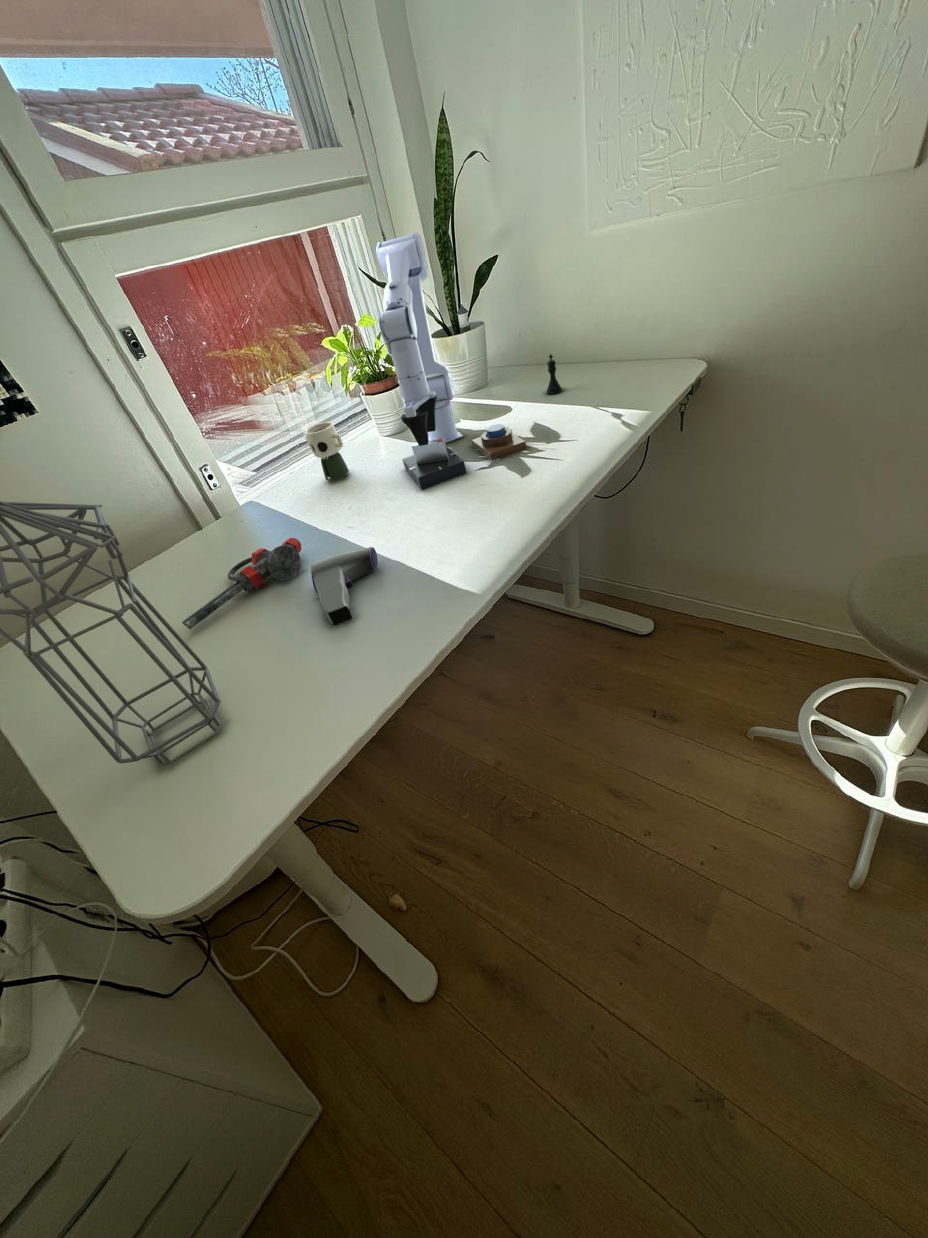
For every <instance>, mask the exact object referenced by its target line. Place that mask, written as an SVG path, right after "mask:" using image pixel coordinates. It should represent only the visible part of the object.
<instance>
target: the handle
mask: <svg viewBox="0 0 928 1238" xmlns="http://www.w3.org/2000/svg"><path fill="white" fill-rule="evenodd" d="M447 447H448V446H447V443H446V442H445V439H444V438H439V440H432V441H429V443H428V445H423V446H419V445H418V443H417V442H414V443H412V445H411V449H412V452H413V455H414V456H415V459H416V463H417V465H419V464H426V463H433V462H440V461H447V460H448V459H449V454H448V450H447Z"/></svg>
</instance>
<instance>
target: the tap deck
mask: <svg viewBox="0 0 928 1238" xmlns="http://www.w3.org/2000/svg"><path fill="white" fill-rule="evenodd" d="M447 450H448V454H449V459H448V460H447V461H440V462H433V463H426V464H419V465H417V463H416V459H415V456H414V454H413V455H410V456H407V457H404V458H402V463H403V466H404V467H403V468H404V470H405V472H406V473H407V475H409V476H410V478H411V480H412V481H414V483H415V484H416V485H417V486H418V487H419V489H420V490H421V491H424V490H426V489H430V488H432V487H434V486H437V485H440V484H442V483H445V482H448V481H451V480H453V479H457V478H459V477H462V476H464V475H467V474H468V473H467V469H466V465H465V461H464V460H463V459H462V458H461V457H460V456H459V455H457V451H456V452H454V451H453V450H452V449H450V448H449V446H447Z"/></svg>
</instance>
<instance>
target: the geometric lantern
mask: <svg viewBox="0 0 928 1238" xmlns="http://www.w3.org/2000/svg"><path fill="white" fill-rule="evenodd" d="M102 507H103V504H85V503H84V504H83V503H57V502H56V503H55V502H54V503H53V502H24V501H23V502H22V501H21V502H20V501H19V502H18V501H0V535H1V537H2V538H3V540H5V542H6V543H7V544H4V545H2V546H0V553H1V552H2V553H3V552H6V551H8V550H12V551H13V552H14V553H15V555H16V556H17V557H6V556H2V555H1V554H0V595H2V594H3V597H4V598H6V599H9V598H10V600H12V601H13V602H15V603H16V604H17V605H18V606H21V607H22V608H3V607H0V615H14V616H16V617H19V618H23V619H25V635H24V636H25V637H24V644H23V643H21V641H19V640H18V639H17V638H15V636H14V635H12V634H11V633H10V632H8V631H7V630H6V629H5V628H3V627H2V626H1V625H0V635H2V636H3V637H5V638H6V639H7V640H8V641H10V643H12V644H13V645H14V646H15V647H17V648H18V649H19V650H20V651H21V652H22V654H23V655H24V656H25V657H26V658H27V660H28V661H29V662H30V663H31V665H33V667H34V668H35V669H36V670H37V671H38V672H39V673H40V675H41V676H42V677H43V678H44V679H45V680H46V682H47V683H48V684H49V686H51V687H52V688H53V690H54V691H55V692H56V694H58V696H59V697H60V698H61V699H62V700H63V702H64V703H65V704H66V705H67V706H68V707H69V708H70V710H71V711H72V712H73V713H74V714H75V715H76V717H77V718H78V719H79V720H80V721H81V723H83V725H84V726H85V727H86V728H87V729H88V731H89V732H90V733H91V734H92V736H94V737H95V739H96V740H97V741H98V742H99V743H100V744H101V746H102V747H103V748H104V749H105V751H107V753H108V754H109V755H110V756H111V757H112V758H113V760H114V761H115V762H116V763H118V764H127V763H134V762H139V761H141V760H143V759H149V758H154V759H155V760H156V761H157V762H158V763H159V765H160V766H161V767H164V766H169V765H172V764H174V763H175V762H176V761H178V760H180V759H181V758H183V757H185V756H186V755H188V754H190V753H191V752H192V751H194V750H195V749H197V748H199V747H200V746H202V745H203V744H205V743H207V742H208V741H209V740H211V739H212V738H214V737H216V736H217V735H219V734H220V732H221V730H222V727H223V725H222V723H221V722H220V719H219V718H218V716H217V714H216V713H217V710H218V708H219V706H220V704H221V699H220V697H219V694H218V691H217V688H216V686H215V683H214V681H213V678H212V676H211V673H210V671H209V668H208V666H207V665H206V664H205V663H204V662H203V660H201V658H200V657H199V656H198V655H197V653H195V652H194V650H193V649H192V648H191V647H190V646H189V645H188V644H187V642H186V641H184V639H183V638H182V637H181V636H180V634H179V633H177V631H176V630H175V629H174V628H173V627H172V626H171V624H169V622H168V621H167V620H166V619H165V617H163V615H162V614H161V613H160V612H159V611H158V610H157V609H156V608H155V606H153V604H151V602H150V601H149V600H148V599H147V597H146V596H145V595H144V594H143V593H142V592H141V591H140V590H139V589H138V587H137V586H136V585H135V584H134V583H133V582H132V579H131V575H130V574H129V572H128V569H127V566H126V564H125V561H124V558H123V555H124V553H123V552H122V551H121V550H120V545H121V543H120V541H119V539H118V538H117V536H116V534H115V532H114V531H113V529H112V528H111V526H110V524H108V523H106V521H105V517H104V515H103V512H102V509H101V508H102ZM63 510H64V511H69V510H70V511H73V512H71V513H69V515H67V516H63V515H57V514H51V513H45V512H41V511H63ZM88 510H89V511H90V510H91V511H92V510H93V511H94V514H95V517H96V518H95V519H96V521H90V520H85V517H86V514H87V512H88ZM39 511H40V512H39ZM8 519H9V520H12V521H14V522H17V523H20V524H22V525H25V526H28V527H31V528H33V529H36V530H39V531H41V532H43V533H46V534H44V535H40V536H39V537H35V538H27V536H25V534H23V533H22V532H21V531H20V530H19V529H18V528H17V527H15V526H14V525H13V524H12V523H11V522H10V521H9V520H8ZM85 526H86V527H85ZM5 527H6V528H5ZM89 527H90V528H89ZM91 527H92V528H96V529H92V528H91ZM6 529H8V530H9V531H10V532H11V533H12V534H14V535H15V537H17V538H18V539H20V540H19V541H15V539H13V537H12V536H11V534H10V533H9V532H8V531H7V530H6ZM78 534H81V535H85V536H89V537H93V539H94V540H100V541H101V542H102V543H98V542H95V541H92V540H90V539H87V538H85V537H82V536H81V535H78ZM54 537H58V538H59V539H60V541H61V543H62V545H63V547H64V549H63V550H62V551H60V552H56V553H53V554H50V555H46V556H44V555H43V554H42V552H41V550H40V549H39V547H38V545H37V544H39V543H42V542H44V541H47V540H50V539H52V538H54ZM73 544H77V545H79V546H82V547H85V549H84V550H82V551H80V552H78V553H77V554H75V555H73V556H71V555H69V553H70V552H71V551H72V550H71V548H72V546H73ZM26 545H28V546H29V547H30V546H32V548H33V550H34V552H35V553H36V555H37V557H38V558H30V557H27V556H26V554H25V553H24V551H23V550H22V549H21V547H22V546H26ZM98 548H100V549H103V548H105V551H106V552H107V554H108V555H109V557H110V559H112V560H113V559H114V560H117V561H118V563H119V566H120V569H121V572H122V574H119V573H116V571H115V569H114V565H113V564H114V563H113V562H112V560H108V562H107V563H108V565H109V568H110V571H111V574H109V573H107V572H104V571H103V570H100V569H98V568H96V567H94V566H92V565H89V564H88V563H89V561H91V559H92V557H93V556H94V555H95V553H96V552H97V550H98ZM63 557H65V558H66V560H65V561H63V562H61V563H60V564H57V565H56V566H54V567H53V568H51V569H49V570H48V571H45V568H44V563H46V562H50V561H53V560H56V559H60V558H63ZM4 563H21V564H23V565H24V567H25V568H26V569H27V570H28V571H29V573H30V574H31V575H32V576H27V577H24V578H22V579H19V580H16V581H13V582H11V583H9V580H8V577H7V573H6V569H5V565H4ZM75 563H77V566H76V567H75V568H74V569H73V571H72V573H71V574H70V575H69V577H68V578H67V580H66V581H65V582H64V584H63V585H62V586H61V588H60V589H59V590H58V591H57V589H55V588H54V587H53V586H52V585H50V584H49V583H48V582H47V580H48V579H49V578H51V577H53V576H54V575H56V574H58V573H60V572H61V571H63V570H65V569H67V568H68V567H71V565H73V564H75ZM34 564H37V568H36V567H35V566H34ZM85 567H86V568H87V569H90V570H91V571H95V572H96V573H98V574H100V575H103V576H105V577H106V578H103V579H101V580H98V581H97V582H94V583H92V584H90V585H88V586H86V587H83V588H82V589H79V590H77V591H74V592H72V593H71V594H69V593H67V592H68V591H69V589H70V588H71V586H72V585H73V584H74V582H75V581H76V579H77V578H78V576H79V575H80V574H81V573H82V571H83V570H84V568H85ZM34 580H35V581H36V582H37V583H39V589H40V597H41V603H40V604H38V605H36V606H34V607H33V608H31V607H30V606H28V605H27V604H26V603H25V602H24V601H22V600H21V599H19V598H18V597H17V596H16V595H15V594H13V593H12V592H11V590H14V589H17V588H19V587H22V586H25V585H27V584H31V583H32V582H34ZM110 580H113V582H114V586H115V588H116V592H117V594H118V598H119V602H120V605H121V608H119V609H118V610H117V609H113V608H111V607H108V606H105V605H101V604H99V603H96V602H92V601H90V600H87V599H84V598H82V597H78V595H81V594H83V593H86V592H88V591H89V590H91V589H93V588H95V587H98V586H100V585H103V584H104V583H106V582H109V581H110ZM125 583H126V584H125ZM121 589H122V591H124V593H125V594H126V595H127V597H128V598H129V599H130V600H131V602H130V603H129V602H128V603H126V604H125V602H124V597H123V594H122V591H121ZM47 590H48V591H49V592H51V593H52V594H53V596H51V597H50V598H47ZM136 596H137V597H138V598H139V600H141V601H142V603H144V605H145V606H146V607H147V608H148V609H149V611H150V612H152V613H153V615H154V616H155V617H156V618H157V619H158V620H159V622H160V623H162V625H163V626H164V627H165V628H166V629H167V630H168V632H170V633H171V635H172V636H173V637H174V638H175V639H176V640H177V641H178V642H179V643H180V645H181V646H182V647H183V648H184V649H185V650H186V651H187V652H188V653H189V655H190V656H191V657H192V658H193V659H194V660H195V662H196V663H197V664H198V665H199V666H189V664H188V662H187V661H186V660H185V659H184V658H183V656H182V655H181V654H180V652H179V651H178V650H177V648H176V647H175V646H174V645H173V644H172V643H171V641H170V640H169V638H168V637H167V636H166V635H165V633H164V632H163V631H162V630H161V628H160V627H159V626H158V624H157V623H156V622H155V620H153V618H152V617H151V616H150V614H149V612H147V611H146V609H145V607H143V605H142V604H141V603H140V602H139V600H138V599H137V598H136ZM67 600H69V601H72V602H76V603H79V604H81V605H85V606H88V607H91V608H94V609H97V610H99V611H103V612H106V613H109V614H112V616H110V617H107V618H105V619H103V620H101V621H99V622H97V623H95V624H92V625H90V626H88V627H86V628H83V629H82V630H80V631H78V632H75V633H73V634H72V635H71V633H69V631H68V630H67V629H66V628H65V627H64V626H63V624H62V623H61V622H60V621H59V620H58V618H56V616H55V615H54V614H53V613H52V612H51V611H50V610H49V609H50V608H52V607H54V606H57V605H59V604H61V603H63V602H65V601H67ZM129 610H130V611H131V612H132V613H133V614H134V615H135V616H136V617H137V618H138V620H139V621H140V622H141V623H142V624H143V625H144V626H145V628H147V629H148V631H149V632H150V633H151V634H152V635H153V636H154V637H155V638H156V639H157V641H159V643H160V644H161V645H162V646H163V647H164V648H165V649H166V650H167V652H168V653H169V654H170V655H171V656H172V657H173V658H174V660H176V661H177V663H178V664H179V665H180V666H181V667H182V668H183V669H184V670H182V671H180V672H178V673H177V674H175V675H174V674H173V673H172V672H171V671H170V670H169V668H167V666H166V665H165V664H164V663H163V662H162V661H161V660H160V659H159V657H158V656H157V655H156V654H155V652H153V651H152V650H151V648H150V647H149V646H148V644H146V642H145V641H144V640H143V639H142V638H141V637H140V636H139V635H138V633H137V631H135V630H134V629H133V628H132V627H131V626H130V625H129V623H127V621H126V620H125V619H124V618H123V616H124V614H125V613H126V612H127V611H129ZM43 614H45V615H46V616H47V618H48V619H49V620H50V621H51V622H52V623H53V624H54V626H55V627H56V628H57V629H58V630H59V631H60V633H61V634H62V635H63V637H65V638H63V639H61V640H59V641H55V642H54V640H53V639H52V638H51V637H50V636H49V634H47V632H46V631H45V630H44V629H43V628H42V626H41V625H40V624H39V622H38V621H36V619H38V617H40V616H41V615H43ZM114 620H117V621H118V622H119V623H120V625H121V626H122V627H123V628H124V629H125V631H127V633H128V634H129V635H130V636H131V637H132V639H133V640H135V642H136V643H137V644H138V645H139V647H140V648H142V650H143V651H144V652H145V653H146V654H147V655H148V656H149V658H150V659H151V660H152V661H153V662H154V663H155V664H156V665H157V666H158V667H159V669H160V670H161V671H162V672H163V673H164V674H165V675H166V676H167V678H168V679H166V680H164V681H162V682H160V683H158V684H157V685H155V686H152V687H151V688H149V689H147V690H146V691H144V692H141V693H140V694H138V695H136V696H135V697H134V698H131V699H130V700H127V699H126V698H125V696H124V695H123V694H122V693H121V692H120V691H119V690H118V689H117V687H116V686H115V685H114V684H113V682H112V681H111V680H110V679H109V678H108V677H107V676H106V675H105V673H104V672H103V671H102V670H101V669H100V667H99V666H98V665H97V664H96V663H95V661H94V660H93V659H92V658H91V657H90V655H89V654H87V652H86V651H85V650H84V649H83V648H82V646H81V645H80V644H79V643H78V642H77V640H76V639H75V638H78V637H80V636H82V635H85V634H86V633H89V632H90V631H92V630H95V629H97V628H99V627H102V626H104V625H105V624H107V623H109V622H111V621H114ZM31 626H32V627H33V628H34V629H35V630H36V631H37V632H38V634H39V635H40V636H41V637H42V639H43V640H44V641H45V642H46V643H47V644H48V646H46V647H44V648H41V649H39V650H37V651H34V650H32V643H31V639H32V638H31ZM67 642H69V643H70V644H71V645H72V646H73V648H74V649H75V650H76V651H77V652H78V653H79V655H80V656H81V657H82V658H83V659H84V660H85V661H86V662H87V663H88V665H89V666H90V667H91V668H92V669H93V670H94V672H96V674H97V675H98V676H99V677H100V678H101V680H102V681H103V682H104V683H105V684H106V685H107V687H108V688H109V689H110V690H111V691H112V692H113V693H114V695H115V696H116V697H117V698H118V699H119V700H120V701H121V703H122V705H121V707H119V708H118V710H117V711H116V712H115V713H113V712H112V710H111V709H110V708H109V707H108V705H107V704H106V703H105V702H104V701H103V699H102V698H101V697H100V695H99V694H98V693H97V692H96V691H95V690H94V688H92V686H91V685H90V683H88V681H87V680H86V679H85V678H84V677H83V676H82V674H81V673H80V672H79V670H77V668H76V667H75V666H74V665H73V663H72V662H71V661H70V659H68V658H67V656H66V655H65V654H64V652H63V651H62V650H61V649H60V648H59V646H61V645H63V644H65V643H67ZM50 650H53V651H54V653H55V654H56V655H57V656H58V657H59V658H60V660H61V661H62V662H63V663H64V664H65V666H66V667H67V668H68V669H69V670H70V672H71V673H72V674H73V675H74V676H75V678H76V679H77V680H78V681H79V682H80V683H81V685H82V686H83V687H84V688H85V689H86V691H87V692H88V693H89V694H90V695H91V697H92V698H93V699H94V700H95V701H96V703H97V704H98V705H99V706H100V708H101V709H102V710H103V711H104V712H105V713H106V715H107V716H108V717H109V719H110V720H111V723H112V728H111V726H109V725H108V723H106V722H105V721H104V719H102V718H101V716H100V715H98V714H97V712H96V711H95V710H94V709H93V708H92V707H91V706H90V705H89V704H88V703H87V702H86V701H85V700H84V699H83V698H82V697H81V696H80V695H79V694H78V693H77V692H76V690H74V689H73V688H72V687H71V685H70V684H69V683H68V682H67V681H66V680H65V679H64V678H63V677H62V675H60V674H59V673H58V672H57V671H56V670H55V669H54V668H53V667H52V666H51V665H50V664H49V662H47V661H46V659H44V658H43V656H42V654H44V653H46V652H48V651H50ZM199 671H200V672H201V671H202V672H203V674H202V678H200V677H199V676H198V675H197V674H196V672H199ZM186 674H188V678H189V686H190V692H191V693H189V692H188V690H187V689H186V688H185V687H184V686H183V684H181V682H180V681H179V680H178V679H179V678H180V677H183V676H184V675H186ZM206 679H207V682H208V685H209V687H210V688H209V687H208V685H206V684H205V680H206ZM194 681H195V682H196V683H197V684H198V685H199V687H198V690H197V692H195V689H194ZM170 683H173V684H174V685H175V686H176V688H177V689H178V690H179V691H180V692H181V693H182V694H183V695H184V697H183V698H181V699H179V700H177V701H176V702H175V703H173V704H171V705H170V706H168V707H167V708H166V709H164V710H162V711H160V712H159V713H157V714H156V715H154V716H152V717H151V718H150V719H146V718H145V717H143V715H142V714H141V713H139V712H138V710H136V709H135V708H134V707H133V706H132V705H133V704H134V703H136V702H137V701H139V700H142V699H143V698H145V697H146V696H148V695H150V694H152V693H154V692H155V691H157V690H160V689H161V688H163V687H164V686H167V685H168V684H170ZM60 686H61V687H62V688H63V689H64V690H65V691H66V692H67V693H66V692H65V691H64V690H63V689H62V688H61V687H60ZM202 690H203V691H204V692H205V693H206V694H207V695H208V697H210V698H211V700H213V701H214V705H213V706H211V704H210V702H209V701H208V700H206V699H205V698H204V696H203V695H202ZM67 694H69V695H70V696H71V697H72V698H73V699H74V701H76V702H77V703H78V704H79V705H80V707H81V708H82V709H83V710H84V711H85V712H86V713H87V714H88V715H89V716H90V717H91V718H92V719H93V720H94V721H95V722H96V723H97V724H98V725H99V726H100V727H101V728H102V730H104V731H105V732H106V733H107V734H108V736H110V737H111V738H112V739H113V740H114V748H115V749H113V748H112V746H111V745H110V744H109V743H108V742H107V740H106V739H105V738H104V736H103V735H101V733H100V732H99V731H98V730H97V729H96V728H95V726H94V725H93V724H92V723H91V722H90V721H89V719H88V717H86V716H85V715H84V714H83V712H82V711H81V710H80V708H79V707H78V706H77V705H76V704H75V703H74V702H73V700H72V699H71V697H69V696H68V695H67ZM196 696H197V697H198V699H199V700H200V701H199V700H198V699H197V697H196ZM186 700H188V701H189V702H190V703H191V704H192V705H190V706H189V707H187V708H185V709H183V710H182V711H180V712H179V713H177V714H175V715H173V716H172V717H171V718H168V719H167V720H165V721H164V722H162V723H161V724H158V725H157V726H156V727H154V726H153V725H152V723H151V722H153V721H155V720H156V719H157V718H159V717H161V716H162V715H164V714H165V713H167V712H168V711H170V710H172V709H174V708H175V707H176V706H178V705H180V704H181V703H183V702H185V701H186ZM201 705H203V707H204V708H203V707H202V706H201ZM127 708H128V709H129V710H130V711H131V712H132V713H133V714H134V715H136V716H137V718H139V719H140V720H141V721H142V722H143V723H144V724H143V725H142V724H139V723H135V722H133V721H129V720H125V719H122V718H119V716H121V714H122V713H123V712H124V711H125V710H126V709H127ZM193 708H195V709H196V710H197V711H198V712H199V714H201V715H202V717H203V719H201V720H199V721H198V722H196V723H194V724H192V725H191V726H189V727H186V728H185V729H184V730H182V731H180V732H178V733H176V734H174V735H173V736H171V737H170V738H167V739H166V740H164V741H162V742H160V743H158V744H156V742H155V739H154V737H153V736H154V735H155V733H156V731H158V729H159V730H160V729H161V728H162V727H164V726H165V725H168V724H169V723H171V722H172V721H174V720H176V719H178V718H179V717H180V716H182V715H184V714H185V713H187V712H188V711H190V710H192V709H193ZM212 721H213V722H214V723H215V725H216V726H217V728H216V727H215V726H214V725H213V723H212ZM118 722H120V723H123V724H126V725H130V726H132V727H136V728H139V729H141V732H142V733H143V736H144V739H145V741H146V743H147V746H148V748H149V749H147V750H146V751H144V752H142V753H140V754H139V755H137V754H136V753H135V751H133V749H132V748H131V747H129V746H128V744H127V743H126V742H125V741H124V740H123V739H122V738H121V737H120V734H119V725H118ZM147 726H148V727H149V729H150V730H151V733H150V732H149V731H148V730H147V729H146V727H147ZM207 726H208V727H209V728H210V729H211V730H212V731H213V733H212V734H210V735H209V736H207V737H206V738H204V739H203V740H201V741H200V742H198V743H196V744H195V745H193V746H191V747H190V748H189V749H187V750H186V751H184V752H182V753H181V754H179V755H178V756H176V757H175V758H173V759H170V758H169V757H168V756H167V755H166V754H165V753H166V752H167V751H169V750H170V749H172V748H173V747H176V746H177V745H178V744H180V743H181V742H183V741H184V740H186V739H188V738H190V737H191V736H193V735H195V734H196V733H197V732H199V731H201V730H203V728H206V727H207ZM165 746H166V747H165ZM164 747H165V748H164ZM162 748H163V749H162ZM121 749H123V750H124V751H125V752H126V753H127V754H128V756H130V757H126V758H122V757H123V756H122V750H121ZM160 749H161V750H160ZM159 750H160V751H159ZM163 759H164V760H163ZM164 761H165V762H164Z"/></svg>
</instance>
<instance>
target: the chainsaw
mask: <svg viewBox="0 0 928 1238" xmlns="http://www.w3.org/2000/svg"><path fill="white" fill-rule="evenodd" d="M302 550H303V549H302V543H301V542H300V540H299V539H298V538H295V537H288V538H287V539H286V540H284V541H283V542H282V544H281V545H278V546H276V547H274V548H273V549H272V550H268V549H266V548H263V547H260V548H259V549H257V550H255V551H253V552H252V553H251V557H247V558H245V559H244V560H241V561H240V562H238V563H237V564H236V565H234V566H233V567H232V568H230V570H229V571H228V573H227V578H228V580H229V581H232V582H233V581H234V582H235V583H233V584H232V585H230V586H229V587H227V588H226V589H225V590H224V591H222V592H221V593H219V594H218V595H217V596H215V597H214V598H213V599H211V600H210V601H209V602H207V603H206V604H205V605H203V606H202V607H200V608H199V609H197V610H196V611H195V612H193V613H192V614H191V615H190V616H188V617H187V618H185V619H184V620H183V621H181V623H182V624H183V625H184V627H187V628H188V629H189V630H191V629H193V628H194V627H195V626H196V625H198V624H200V622H202V621H204V619H206V618H208V616H210V615H211V614H213V613H214V612H216V611H217V610H219V608H221V607H222V606H224V605H225V604H226V603H227V602H229V601H230V600H232V599H233V598H234V597H235V596H236V595H237V596H238V595H239V593H241V592H242V591H244V592H247V593H249V592H251V591H256V590H257V589H259V588H260V587H261V586H262V585H263V584H264V583H265V581H266V580H267V579H268V578H270V577H271V576H272V577H274V579H277V580H280V581H289V580H292V579H293V578H295V577H297V575H298V574H299V572H300V570H301V567H302V559H301V556H300V553H301V551H302ZM248 564H252V566H251V565H248ZM246 565H248V566H246ZM245 566H246V567H245ZM243 567H244V568H243ZM241 568H243V569H242V570H241ZM239 570H241V571H240V572H239V574H238V575H235V574H236V572H238V571H239Z"/></svg>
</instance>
